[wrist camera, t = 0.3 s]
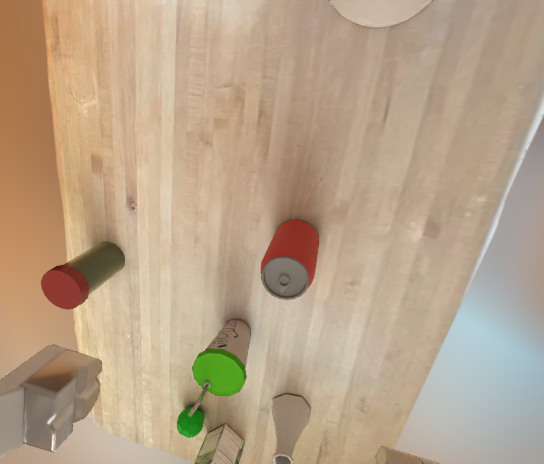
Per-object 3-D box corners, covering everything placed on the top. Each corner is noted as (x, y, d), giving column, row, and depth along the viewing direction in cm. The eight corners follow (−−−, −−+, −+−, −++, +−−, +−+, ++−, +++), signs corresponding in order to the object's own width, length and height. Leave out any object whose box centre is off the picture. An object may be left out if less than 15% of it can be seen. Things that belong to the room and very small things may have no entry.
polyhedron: (194, 397, 65) (183, 419, 61) (212, 414, 66) (203, 436, 61) (178, 408, 67) (167, 430, 63) (196, 424, 68) (187, 446, 63)
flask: (315, 422, 62) (310, 478, 53) (277, 424, 64) (266, 478, 55) (306, 391, 60) (300, 444, 50) (267, 394, 62) (254, 445, 52)
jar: (95, 237, 56) (45, 265, 47) (126, 247, 56) (82, 277, 46) (93, 266, 58) (45, 298, 49) (123, 276, 58) (81, 310, 48)
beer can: (269, 252, 51) (251, 293, 40) (280, 212, 49) (264, 245, 38) (311, 265, 51) (304, 311, 40) (325, 226, 48) (321, 263, 37)
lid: (49, 258, 48) (40, 264, 46) (90, 272, 47) (82, 278, 46) (50, 295, 50) (41, 301, 48) (89, 308, 50) (81, 315, 48)
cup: (251, 306, 55) (222, 374, 42) (266, 345, 58) (244, 422, 44) (209, 314, 58) (168, 381, 44) (225, 351, 60) (191, 426, 46)
